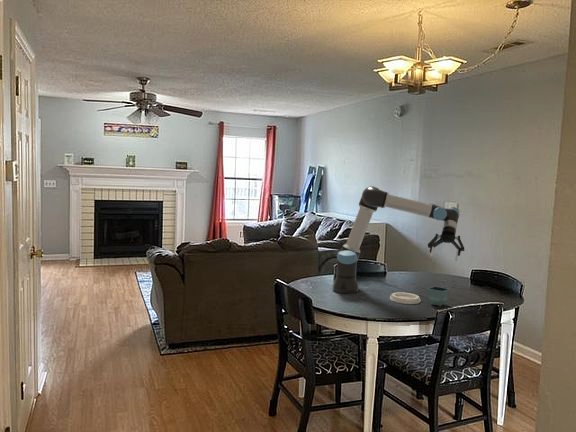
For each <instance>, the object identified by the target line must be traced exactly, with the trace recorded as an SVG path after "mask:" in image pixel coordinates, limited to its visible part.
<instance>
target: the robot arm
mask: <svg viewBox="0 0 576 432" xmlns="http://www.w3.org/2000/svg"><path fill="white" fill-rule="evenodd" d="M358 206H359V210H358V212H357V215H356V218H355V220H354V222H353V225H352V228H351V230H350V233H349V235H348V238H347V241H346V243H345V244H343V245H342V248H341V249H340V251H338V252H337V255H336V259H337V260H336V276H335V280H334V283H333V286H332V291H334V292H335V293H338V294H339V293H340V294H348V295H349V294H356V293H359V286H358V282H357V281H358V280H357V265H358V264H357V263H358V260H359V257H360V254H361V249H360V247H361V245H362V242H363V240H364V238H365V235H366V232H367V229H368V226H369V225H370V222H371V219H372V217H373V213H375V212H377V211H378V208H380V209H385V208H387V209H388V208H389V209H392V210H398V211H401V212H406V213H409V214H413V215H418V216H422V217H425V218H430V219H435V220H437V221H443V226H442V231H441V234H438V233H435V235H434V237H433V238H432V239H431V240H430V241H429V242H427V248H428V249H429V253H430V256H429V257H430V259H433V256H434V253H435V252H434V251H435V249H436V247H438V246H440V245H441V244H443V243H447V244H452V245H453V246H454V247H455V249H456V253H455V258H454V259H455V262H457V261H458V258H459V257H460V256H461V252H465V246H464V243H463V242H462V239H461V235H458V236H456V233H457V228H458V222H459V218H460V210H459V208H458V207H456V206H450V207H449V206H448V207H447V208H446V207H442V206H441V205H438V204H434V203H430V202H429V203H426V202H422V201H417V200H413V199H410V198H405V197H402V196H397V195H393V194H390V193H389V192H388V191H384V190H381V189H379V188H378V187H376V186H372V185H371V186H368V187H366V188H365V189H364V190H363V191H362V194H361V197H360V200H359V203H358ZM455 240H456V241H457V242H458V243H457V242H456V241H455Z"/></svg>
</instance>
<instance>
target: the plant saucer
mask: <svg viewBox="0 0 576 432" xmlns="http://www.w3.org/2000/svg"><path fill="white" fill-rule="evenodd" d="M389 300H390V301H392V302H394V303H397V304H404V305H417V304H421V301H422V300H421V298H420V296H419V295H418V294H416V293H415V294H414V293H412V292H411V293H410V292H403V291H402V292H400V291H399V292H393V293H391V295H390V296H389Z"/></svg>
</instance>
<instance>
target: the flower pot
mask: <svg viewBox="0 0 576 432" xmlns="http://www.w3.org/2000/svg"><path fill="white" fill-rule="evenodd" d="M427 291H428V294H427V295H428V300H429V302H430V304H431V305H433V306H434V305H435V306H438V307H441V306H443V305H445V303H446V301H447V299H448V298H449V291H450V288H447V287H446V288H445V287H440V286H431V287H428V288H427Z"/></svg>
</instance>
